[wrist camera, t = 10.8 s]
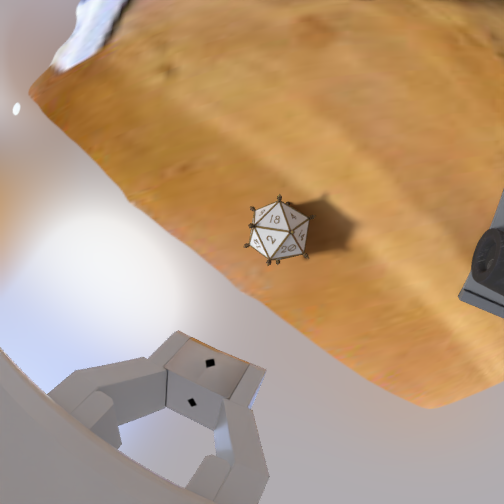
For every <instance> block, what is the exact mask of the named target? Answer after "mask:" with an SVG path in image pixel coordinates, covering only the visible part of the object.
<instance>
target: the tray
mask: <svg viewBox="0 0 504 504" xmlns="http://www.w3.org/2000/svg"><path fill="white" fill-rule="evenodd" d="M491 228H496V229H498V230H500V231H503V232H504V190H503V193H502V196H501V199H500V202H499V205H498V207H497V210H496V213H495V216H494V218H493V221H492V224H491V226H490V229H491ZM458 297H459V299H460V300H461V301H463V302H466V303H468V304H470V305H473V306H475V307H478V308H480V309H483V310H485V311H487V312H490V313H492V314H494V315H497V316H499V317H502V318H504V296H502V295H500V294H498V293H496V292H494V291H492V290H490V289H488V288H487V287H485V286H483V285H481V284H479V283H477V282H476V281H475V280H474V279H473V277H472V272H470V274H469V276H468V278H467V280H466V282H465V284H464V286H463V288H462V289H461V291H460V293H459V295H458Z"/></svg>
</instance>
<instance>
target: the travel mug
mask: <svg viewBox="0 0 504 504" xmlns="http://www.w3.org/2000/svg"><path fill="white" fill-rule="evenodd" d="M471 272H472V277H473V279H474V280H475V281H476V282H477V283H479V284H481V285H483V286H485V287H487V288H488V289H490V290H492V291H494V292H496V293H498V294H500V295H502V296H504V232H503V231H500V230H498V229H496V228H491V229H489V230H487V231H486V232H485V233H484V234H483V236H482V237H481V239H480V240H479V242H478V244H477V246H476V249H475V252H474V255H473V259H472V266H471Z"/></svg>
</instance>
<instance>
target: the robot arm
mask: <svg viewBox="0 0 504 504" xmlns="http://www.w3.org/2000/svg"><path fill="white" fill-rule="evenodd" d="M265 373H266V369H264V368H261V367H258V366H256V365H253V364H251V363H249V362H246V361H244V360H241V359H239V358H236V357H234V356H232V355H229V354H227V353H225V352H222V351H220V350H217V349H215V348H213V347H211V346H209V345H207V344H205V343H203V342H201V341H199V340H197V339H195V338H193V337H190V336H188V335H186V334H184V333H182V332H180V331H176V332H174V333H173V334H172V335H171V336H170V337H169V338H168V339H167V340H166V341H165V342H164V343H163V344H162V345H161V346H160V347H159V348H158V349H157V350H156V351H155V352H154V353H153V354H152V355H151V356H150V357H149V358H148V359H146V358H145V357H141V358H136V359H132V360H127V361H122V362H118V363H112V364H108V365H102V366H97V367H92V368H87V369H81V370H76V371H74V372H73V373H72V374H71V375H70V376H68V377H67V378H66V379H65V380H63V381H62V382H61V383H60V384H59V385H57V386H56V387H55V388H54V389H53V390H52V391H50V392H49V393H48V394H46V393H45V392H44V391H42V390H41V389H40V388H39V387H38V386H37V385H36V384H35V383H34V382H33V381H32V380H31V379H30V378H29V377H28V376H27V375H26V374H25V373H24V372H23V371H22V370H21V369H20V368H19V367H18V366H17V365H16V364H15V363H14V362H13V361H12V360H11V359H10V358H9V356H8V355H7V354H6V353H5V352H4V351H3V350H2V349H1V348H0V504H258V503H259V500H260V498H261V496H262V493H263V491H264V489H265V486H266V484H267V481H268V479H269V477H270V476H269V473H268V469H267V465H266V461H265V458H264V454H263V450H262V446H261V442H260V438H259V434H258V430H257V426H256V423H255V418H254V414H253V410H251V407H252V405H253V403H254V401H255V398H256V396H257V394H258V391H259V388H260V386H261V383H262V381H263V379H264V376H265ZM165 407H167V408H169V409H171V410H173V411H175V412H177V413H179V414H181V415H184V416H185V417H187V418H190V419H191V420H194V421H195V422H197V423H199V424H201V425H203V426H205V427H207V428H209V429H211V430H213V431H214V438H215V449H216V456H214V455H209V456H206V457H205V458H204V460H203V461H202V463H201V465H200V466H199V468H198V469H197V471H196V473H195V474H194V475H193V477H192V479H191V480H190V482H189V483H188V485H187V486H186V488H183V487H181V486H179V485H177V484H175V483H173V482H171V481H170V480H168V479H165V478H164V477H162V476H160V475H159V474H157V473H155V472H153V471H151V470H150V469H148V468H146V467H145V466H143V465H141V464H140V463H138V462H136V461H135V460H133V459H131V458H129V457H128V456H127V455H125V454H124V453H122V452H121V451H119V450H118V448H119V447H120V445H121V444H122V442H121V437H120V433H119V429H118V426H119V425H122V424H124V423H128V422H130V421H133V420H136V419H138V418H141V417H144V416H146V415H149V414H151V413H154V412H156V411H159V410H161V409H164V408H165Z"/></svg>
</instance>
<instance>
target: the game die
mask: <svg viewBox="0 0 504 504" xmlns="http://www.w3.org/2000/svg"><path fill="white" fill-rule="evenodd" d="M281 198H282V196H281V195H280V194H279V195H278V196H277V199H278V201H276V202H274V203H271V204H269V205H267V206H264V207H262V208H259V209H257V210H255V208H254V207H251V206H250V210H252V211H254V215H253V221H252V224H251V223H250V224H249V225H248V226H249V228H251V233H250V239H249V243H248V244H247V243H246V244H245V245H244V246H243V247H245V248H247V247H249V246H251V247H252V248H254V249H255V250H256V251H258V252H259V253H261V254H262V255H263V256H265V257H266V258H267V259H268V261H267V262H266V263H267V265H268V266H269V265H271V260H276V264H277V265H278V264H279V263H280V260H281V259H285V258H290V257H294V256H299V255H303V256H304V257H305V258H309V256H308V255H307V253H305V246H306V240H307V233H308V227H309V220H310V219H314V218H315V216H316V215H310V217H307V216H306V215H304V214H302V213H301V212H299V211H297V210H296V209H294V208H292V207H291V206H289V205H290V204H289V202H286V203H284V202H282V201H281V200H282V199H281Z"/></svg>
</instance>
